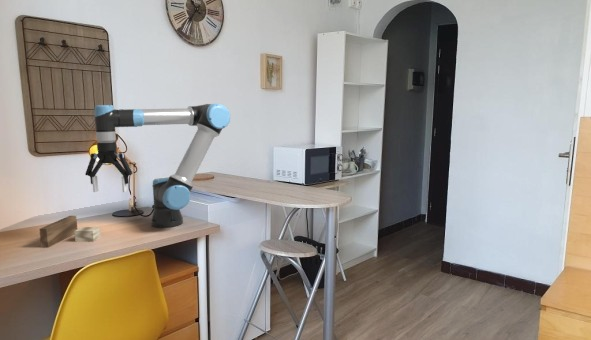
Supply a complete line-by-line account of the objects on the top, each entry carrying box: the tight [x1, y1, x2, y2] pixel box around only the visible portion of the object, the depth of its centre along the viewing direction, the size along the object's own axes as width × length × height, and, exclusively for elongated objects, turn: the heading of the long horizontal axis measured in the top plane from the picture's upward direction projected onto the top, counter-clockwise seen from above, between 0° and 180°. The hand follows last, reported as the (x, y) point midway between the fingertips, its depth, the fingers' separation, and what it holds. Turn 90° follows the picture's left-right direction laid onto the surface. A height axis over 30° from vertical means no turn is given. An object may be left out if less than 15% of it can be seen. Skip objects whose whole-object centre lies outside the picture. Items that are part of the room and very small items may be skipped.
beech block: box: [74, 226, 101, 243], centre depth 190 cm, size 8×6×5 cm
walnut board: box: [39, 215, 78, 248], centre depth 190 cm, size 3×22×8 cm, turn 177°
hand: (110, 191), depth 186 cm, fingers open, 12 cm apart
